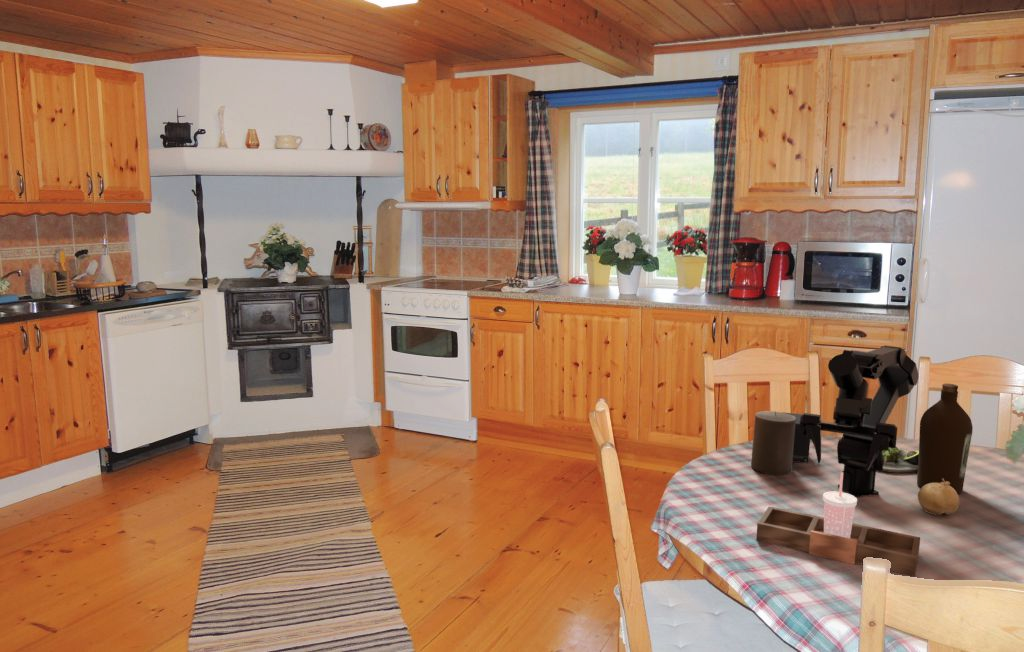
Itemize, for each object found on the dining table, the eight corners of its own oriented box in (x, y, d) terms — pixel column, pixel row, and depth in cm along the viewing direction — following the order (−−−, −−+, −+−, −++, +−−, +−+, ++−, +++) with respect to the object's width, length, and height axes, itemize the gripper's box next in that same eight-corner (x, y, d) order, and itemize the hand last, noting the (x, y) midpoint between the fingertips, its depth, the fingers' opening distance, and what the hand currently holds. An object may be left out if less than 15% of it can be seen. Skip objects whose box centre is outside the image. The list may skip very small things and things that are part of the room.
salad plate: (872, 478, 186) (874, 460, 185) (831, 454, 204) (832, 438, 203) (943, 475, 189) (945, 457, 188) (896, 451, 207) (898, 435, 206)
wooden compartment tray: (755, 541, 151) (756, 520, 150) (767, 522, 160) (769, 501, 159) (915, 578, 136) (917, 554, 136) (918, 554, 146) (920, 532, 145)
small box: (810, 464, 195) (813, 424, 194) (783, 462, 197) (786, 422, 195) (803, 450, 206) (805, 413, 204) (777, 449, 207) (780, 411, 205)
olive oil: (913, 491, 177) (923, 387, 173) (914, 477, 186) (924, 377, 182) (966, 500, 172) (978, 392, 168) (964, 485, 181) (976, 383, 177)
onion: (957, 522, 161) (960, 490, 159) (914, 514, 165) (917, 482, 164) (958, 509, 167) (962, 479, 166) (918, 501, 171) (921, 471, 170)
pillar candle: (764, 476, 186) (769, 417, 183) (743, 463, 195) (748, 406, 193) (799, 474, 188) (805, 415, 186) (777, 460, 198) (782, 404, 195)
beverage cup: (847, 535, 151) (853, 467, 149) (858, 549, 145) (864, 478, 143) (815, 533, 152) (820, 466, 149) (824, 547, 146) (830, 477, 143)
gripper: (804, 376, 164) (792, 440, 157) (901, 387, 155) (893, 455, 148) (806, 402, 172) (796, 465, 165) (899, 414, 164) (892, 480, 156)
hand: (842, 465), depth 158 cm, fingers open, 9 cm apart
